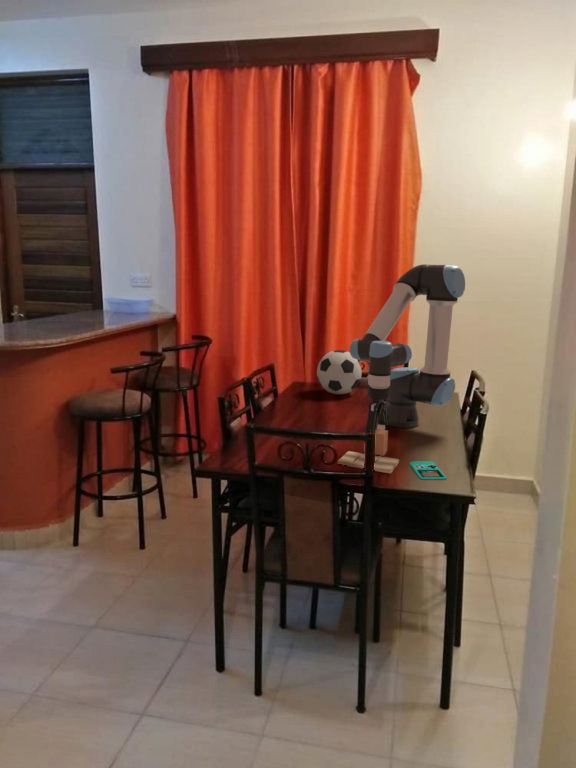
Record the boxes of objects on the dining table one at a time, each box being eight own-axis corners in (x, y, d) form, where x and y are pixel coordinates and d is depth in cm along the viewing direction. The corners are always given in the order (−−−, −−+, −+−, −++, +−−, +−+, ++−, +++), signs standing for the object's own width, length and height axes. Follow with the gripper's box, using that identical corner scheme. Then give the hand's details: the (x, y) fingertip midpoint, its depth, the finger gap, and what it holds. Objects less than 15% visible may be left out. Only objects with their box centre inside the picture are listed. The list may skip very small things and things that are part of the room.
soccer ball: (307, 392, 289) (308, 349, 284) (339, 386, 302) (341, 345, 297) (336, 401, 272) (338, 355, 267) (369, 395, 285) (372, 351, 280)
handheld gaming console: (432, 460, 195) (447, 477, 180) (432, 463, 195) (447, 480, 180) (408, 460, 194) (421, 478, 179) (408, 463, 194) (421, 481, 180)
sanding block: (367, 449, 207) (368, 427, 205) (386, 452, 204) (388, 430, 202) (363, 453, 202) (364, 431, 201) (383, 456, 200) (384, 434, 198)
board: (348, 454, 201) (348, 450, 201) (399, 462, 194) (399, 459, 194) (337, 464, 191) (337, 460, 191) (390, 473, 184) (390, 470, 184)
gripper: (377, 378, 210) (374, 436, 215) (357, 392, 189) (354, 455, 194) (398, 381, 207) (394, 439, 212) (380, 394, 186) (376, 459, 191)
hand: (375, 447), depth 203 cm, fingers open, 11 cm apart
